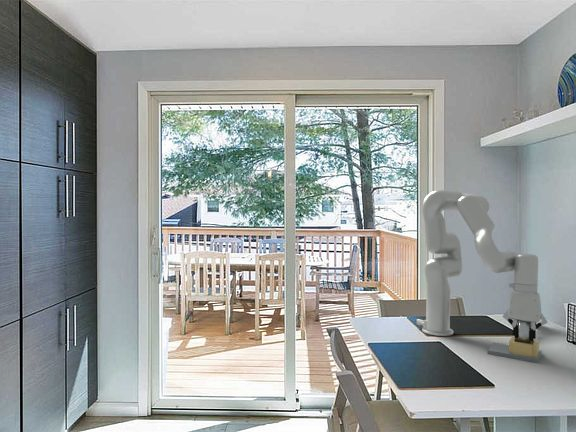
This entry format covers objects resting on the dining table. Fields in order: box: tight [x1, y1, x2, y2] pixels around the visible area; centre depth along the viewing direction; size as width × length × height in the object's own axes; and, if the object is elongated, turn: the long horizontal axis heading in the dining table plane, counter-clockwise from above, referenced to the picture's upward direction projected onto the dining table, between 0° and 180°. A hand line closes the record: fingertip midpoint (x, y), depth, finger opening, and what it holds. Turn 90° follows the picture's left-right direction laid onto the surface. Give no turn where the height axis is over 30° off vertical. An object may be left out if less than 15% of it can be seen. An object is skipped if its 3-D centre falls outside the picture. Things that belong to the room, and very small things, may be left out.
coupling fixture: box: [487, 336, 543, 364], centre depth 162 cm, size 16×12×5 cm
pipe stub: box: [517, 320, 532, 344], centre depth 160 cm, size 4×4×9 cm
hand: (524, 338), depth 160 cm, fingers closed on pipe stub, 4 cm apart
